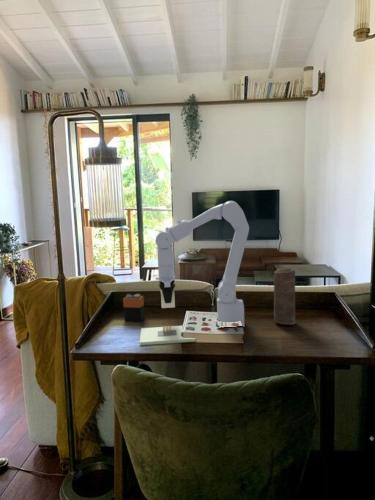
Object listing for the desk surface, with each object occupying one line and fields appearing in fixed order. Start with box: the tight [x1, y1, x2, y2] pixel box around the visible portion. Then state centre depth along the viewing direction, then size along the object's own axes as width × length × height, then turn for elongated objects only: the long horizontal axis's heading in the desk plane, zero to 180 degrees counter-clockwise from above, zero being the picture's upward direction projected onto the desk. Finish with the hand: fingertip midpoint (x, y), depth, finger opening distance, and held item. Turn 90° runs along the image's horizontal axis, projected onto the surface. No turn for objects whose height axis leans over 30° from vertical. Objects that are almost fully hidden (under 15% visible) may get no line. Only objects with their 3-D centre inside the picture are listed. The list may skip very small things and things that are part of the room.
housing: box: [160, 289, 176, 309], centre depth 140 cm, size 5×3×6 cm
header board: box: [139, 324, 196, 346], centre depth 131 cm, size 18×12×4 cm, turn 94°
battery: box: [122, 293, 146, 323], centre depth 147 cm, size 4×7×10 cm, turn 76°
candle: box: [273, 267, 296, 326], centre depth 136 cm, size 8×7×20 cm
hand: (167, 301), depth 140 cm, fingers closed on housing, 3 cm apart
